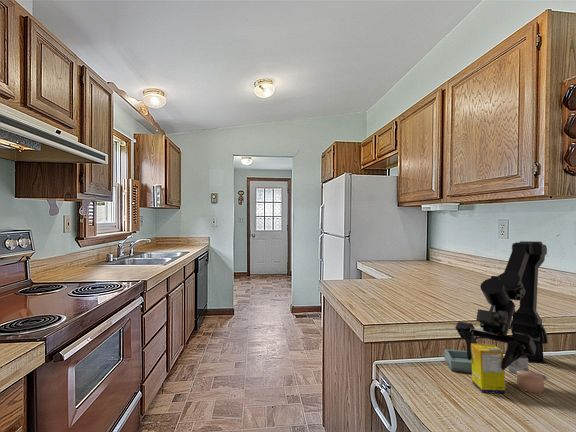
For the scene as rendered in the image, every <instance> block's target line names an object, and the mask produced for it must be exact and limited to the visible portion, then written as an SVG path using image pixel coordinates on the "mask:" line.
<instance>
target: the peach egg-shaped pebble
mask: <svg viewBox="0 0 576 432" xmlns="http://www.w3.org/2000/svg"><path fill="white" fill-rule="evenodd" d="M516 373H517V375H516V386H517V387H518V389H520V388H521V390H522V389H523V390H522V391H524V390H526V391H525V392H527V391H529V392H528V393H532V392H535V393H534V394H542V393H541V392H543V393H545V378H544V376H543V375H542V374H540V373H537V372H536V371H535V372H534V371H530V370H529V371H517V372H516Z"/></svg>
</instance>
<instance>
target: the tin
mask: <svg viewBox="0 0 576 432" xmlns="http://www.w3.org/2000/svg"><path fill="white" fill-rule="evenodd" d="M507 368H508V369H507V370H508V372H509V373H511V374H513V375H516V376H517V373H516V372H517V371H530V370H529V361H528V358H527V357H525V356H521V357H520V358H518V359H517V360H515V361H514V362H513V363H511V364H510V365H509V366H508V367H507Z"/></svg>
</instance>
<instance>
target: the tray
mask: <svg viewBox="0 0 576 432" xmlns="http://www.w3.org/2000/svg"><path fill="white" fill-rule="evenodd" d="M445 359H446V360H445ZM444 360H445V362H446V364H447V366H448V368H449V370H450V371H451V372H456V371H462V372H461V373H466V372H472V360H468V358H467V350H457V349H446V348H445V349H444Z"/></svg>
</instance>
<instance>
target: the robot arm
mask: <svg viewBox="0 0 576 432" xmlns="http://www.w3.org/2000/svg"><path fill="white" fill-rule="evenodd" d="M547 254H548V248H547V245H546V244H543V242H542V241H532V240H531V241H527V240H526V241H525V240H523V241H522V240H521V241H519V242H517V241H516V242H513V243H512V245H511V253H510V256H509V259H508V260H507V264H506V266H505V269H504V271H503V272H502V273H501V274H498V275H491V277H490V278H488V279H487V278H486V279H484V280H483V281H482V282H481V284H480V285H479V286H480V290H481V291H482V294H483V296H484V297H485V299H486V302H487V304H489V305H490V307H489V309H488V310H485V309H479V308H478V309H477V313H476V317H475V318H476V320H475V321H477V322H479V327H480V328H482V330H481V329H476V328H475V325H474V324H473V323H472V322H466V321H458V322H457V323H456V325H455V327H454V328H455V331H457V333H458V335H459V336H460V338H461V339H463V340H464V341H465V344H466V351H467V358H468V360H471V344H478V342H477V339H478V338H481V339H487V340H490V341H491V340H492V341H494V342H500V343H505V344H507V347H506V351H505V353H504V354H503V357H504V358H503V361H502V365H501V368H502V370H504V371H505V370H506V369H507V368H508V366H509V365H510V364H511V363H513V362H514V361H515V360H517V359H518V358H520V357H521V356H525V357H527V358H528V362H532V363H533V362H534V363H543V364H545V363H547V360H546V359H544V344H549V343H548V342H549V341H548V340H549V339H548V333H547V331H546V329H545V327H544V324H543V319H542V318H541V316H540V315H539V313H538V311H537V308H538V307H537V305H538V285H539V284H538V281H539V268H540V267H541V266H542V264H543V263H544V262H545V258H546V257H545V256H546V255H547ZM514 301H519V307H518V309H517V310H516V304H515V302H514ZM509 330H511V334H512V335H508V332H509Z"/></svg>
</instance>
